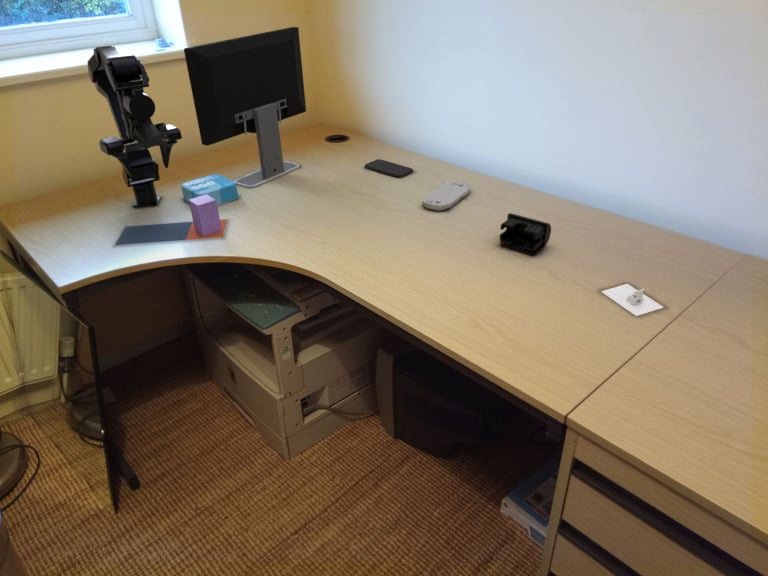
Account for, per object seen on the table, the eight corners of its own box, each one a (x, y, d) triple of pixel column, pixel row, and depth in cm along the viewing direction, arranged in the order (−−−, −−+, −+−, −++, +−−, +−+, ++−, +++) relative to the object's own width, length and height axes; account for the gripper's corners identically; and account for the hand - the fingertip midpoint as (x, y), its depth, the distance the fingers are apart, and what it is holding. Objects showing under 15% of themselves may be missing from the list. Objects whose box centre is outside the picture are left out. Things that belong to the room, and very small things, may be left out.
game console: (445, 205, 154) (418, 199, 158) (445, 214, 155) (418, 208, 159) (474, 183, 167) (448, 178, 171) (474, 191, 168) (448, 186, 172)
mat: (115, 246, 144) (114, 245, 144) (125, 227, 153) (125, 226, 153) (222, 238, 147) (222, 236, 147) (227, 220, 156) (226, 219, 155)
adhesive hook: (633, 307, 116) (637, 293, 115) (624, 300, 118) (627, 287, 117) (645, 303, 117) (649, 290, 116) (636, 297, 119) (639, 283, 118)
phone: (399, 175, 178) (363, 164, 186) (399, 178, 178) (363, 167, 186) (414, 169, 182) (378, 158, 191) (414, 171, 183) (378, 161, 191)
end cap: (549, 245, 139) (553, 219, 136) (535, 257, 134) (539, 230, 131) (511, 234, 145) (513, 209, 141) (497, 245, 140) (499, 219, 136)
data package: (200, 195, 159) (178, 184, 166) (203, 210, 161) (181, 199, 169) (238, 183, 166) (215, 172, 173) (240, 197, 168) (218, 187, 176)
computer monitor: (301, 153, 200) (288, 26, 179) (320, 158, 195) (309, 27, 174) (206, 193, 172) (177, 47, 151) (226, 199, 168) (199, 50, 147)
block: (195, 230, 150) (188, 199, 146) (212, 224, 153) (206, 194, 148) (203, 237, 147) (197, 205, 142) (222, 230, 150) (216, 199, 145)
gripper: (107, 125, 132) (124, 190, 140) (184, 109, 142) (197, 170, 151) (90, 116, 139) (108, 178, 148) (165, 101, 150) (178, 160, 158)
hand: (149, 172), depth 151 cm, fingers open, 9 cm apart
